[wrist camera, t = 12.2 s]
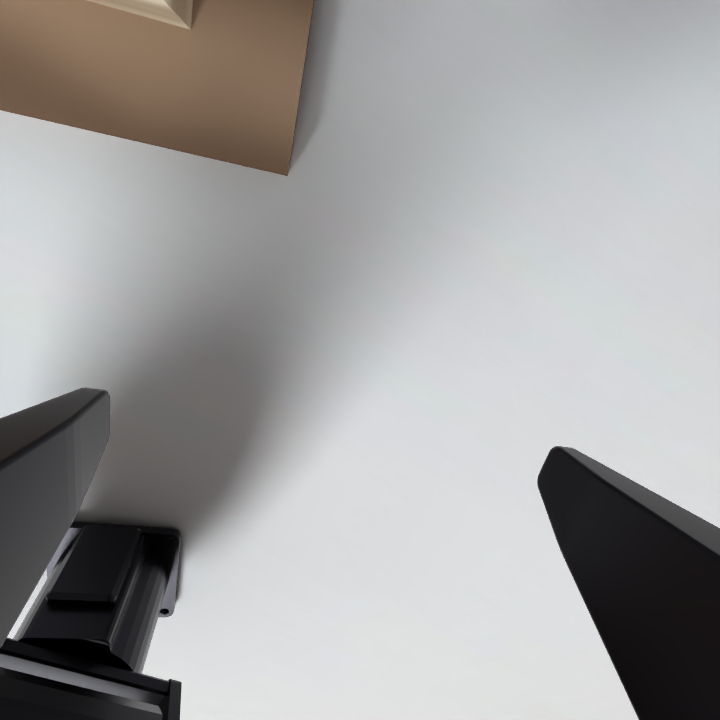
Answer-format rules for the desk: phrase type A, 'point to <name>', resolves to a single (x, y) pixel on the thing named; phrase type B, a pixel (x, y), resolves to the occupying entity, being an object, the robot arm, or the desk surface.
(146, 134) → the walnut base
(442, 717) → the desk surface
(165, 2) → the birch cube
